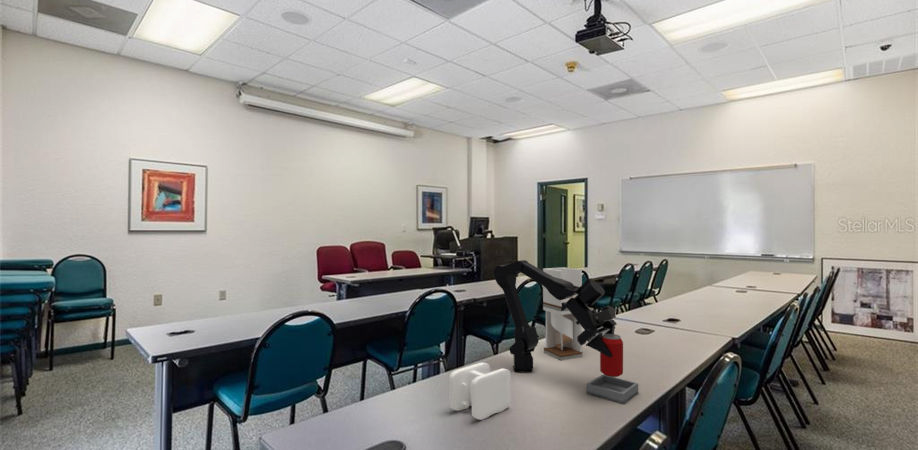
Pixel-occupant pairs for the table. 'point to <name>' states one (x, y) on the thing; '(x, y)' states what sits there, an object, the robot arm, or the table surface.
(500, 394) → the cable organizer
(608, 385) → the coaster tray
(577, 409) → the table surface
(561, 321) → the display case
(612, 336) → the beverage can
